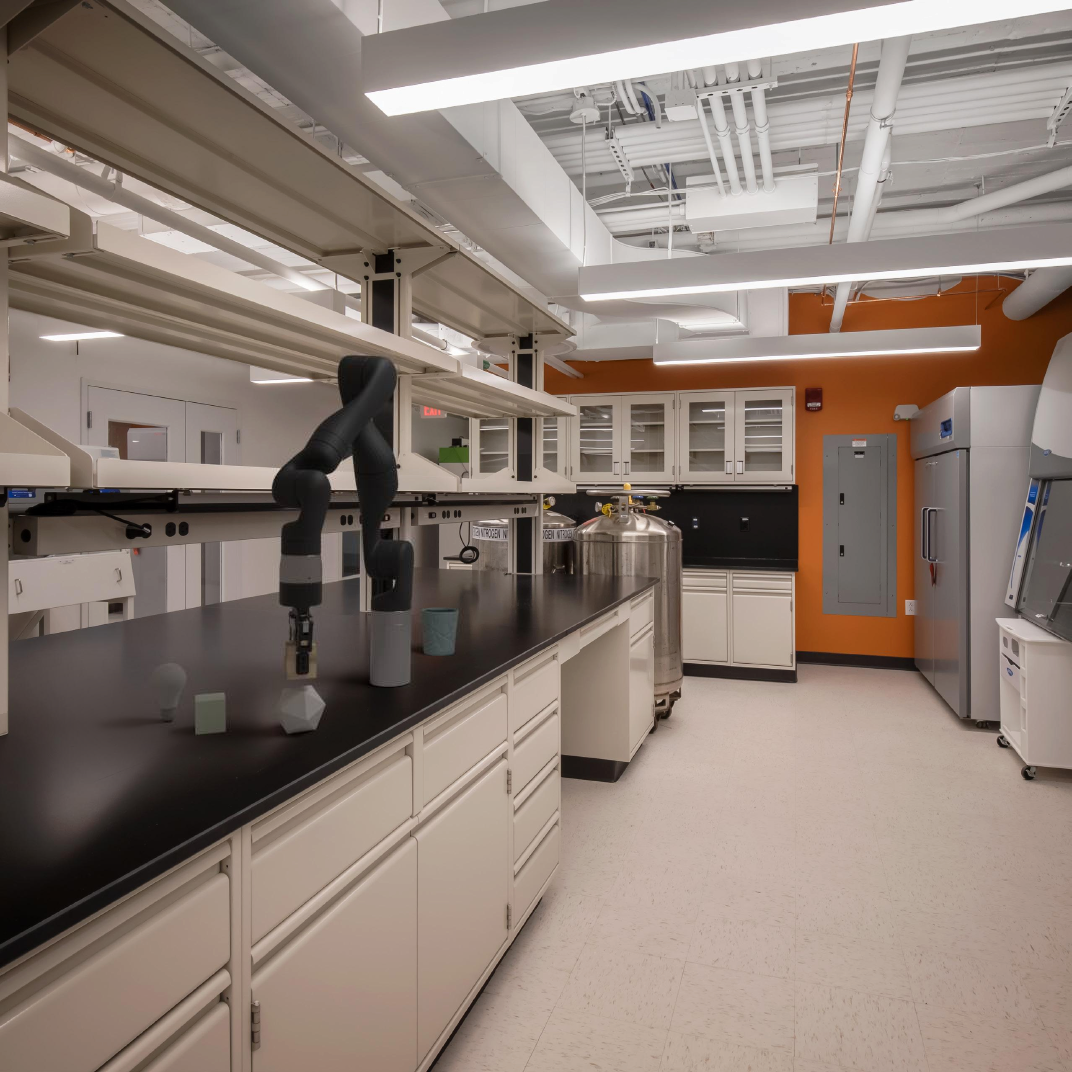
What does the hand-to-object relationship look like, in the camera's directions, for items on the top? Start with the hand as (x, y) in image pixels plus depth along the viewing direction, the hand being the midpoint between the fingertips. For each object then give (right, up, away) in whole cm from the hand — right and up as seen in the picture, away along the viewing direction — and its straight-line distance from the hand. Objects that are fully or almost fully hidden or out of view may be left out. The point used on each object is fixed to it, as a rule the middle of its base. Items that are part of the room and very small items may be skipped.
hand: (300, 670), depth 137 cm
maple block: (0, -1, 0) cm, 1 cm away
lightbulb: (-26, -10, +4) cm, 28 cm away
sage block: (-16, -11, 0) cm, 20 cm away
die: (0, -11, +1) cm, 11 cm away
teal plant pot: (+17, -8, +70) cm, 73 cm away
